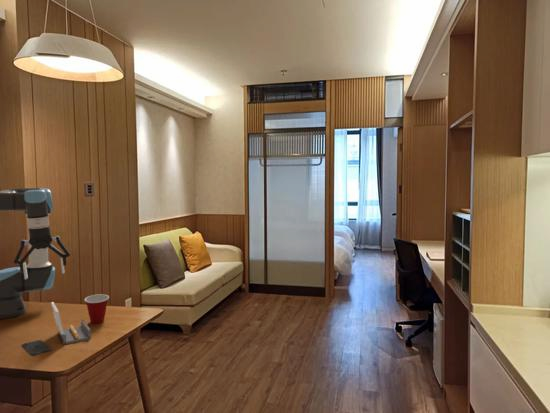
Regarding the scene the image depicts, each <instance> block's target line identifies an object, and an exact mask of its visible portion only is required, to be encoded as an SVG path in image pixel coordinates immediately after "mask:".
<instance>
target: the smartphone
mask: <svg viewBox="0 0 550 413" xmlns="http://www.w3.org/2000/svg"><path fill="white" fill-rule="evenodd" d="M21 348H23V350H25V352H26V353H28V354H29V355H30V356H32V357H34V356H37V355H41V354H44V353H48V352H52V350H53V348H52V347H50V346H49V345H48V344H47V343H46V342H44V341H43V340H41V339H37V340H33V341H29V342H25V343H23V344H21Z"/></svg>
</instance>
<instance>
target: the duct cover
mask: <svg viewBox="0 0 550 413" xmlns="http://www.w3.org/2000/svg"><path fill="white" fill-rule="evenodd" d="M50 305H51V309H52V313H53V317H54V321H55V325H56V326H57V329H58V332H59V331H60V333H61V335H62V334H64V332H63V330H64V328H63V325H62V319H61V315H60V311H59V309H58V307H57V306H56V304H55V302H54V301H52V302H50Z"/></svg>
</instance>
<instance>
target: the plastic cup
mask: <svg viewBox="0 0 550 413" xmlns="http://www.w3.org/2000/svg"><path fill="white" fill-rule="evenodd" d="M109 299H110V295H108V294H103V293H100V294H92V295H88V296H86V297H85V298H84V302H85V305H86V307H87V312H88V317H89V320H90V323H91V324H94V325H95V324H100V323H103V322H104V321H105V316H106V311H107V305H108V302H109V301H108V300H109Z"/></svg>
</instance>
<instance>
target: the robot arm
mask: <svg viewBox="0 0 550 413" xmlns="http://www.w3.org/2000/svg"><path fill="white" fill-rule="evenodd" d="M52 197H53V196H52V192H51V190H50V189H49V188H41V187H38V188H37V187H35V188H34V187H33V188H29V187H28V188H27V187H26V188H25V187H23V188H20V187H19V188H18V187H16V188H7V189H4V190H0V212H1V211H6V212H7V211H14V212H17V211H18V212H21V211H24V215H25V216H26V217H27V218H26V219H27V226H28V227H27V228H28V239H22V240H21V241H20V248H19V249H18V250H17V251H18V252H17V253H16V256H15V259H14V261H13V263H14V264H18V265H19V266H16V267H15V266H13V267H8V268H3V269H0V320H1V319H3V320H4V319H10V318H14V317H15V318H16V317H18V316H21V315H24V314H26V313H27V306H26V305H25V304H26V303H25V301H24V299H23V297H22V296H23V295H22V294H23V293H27V292H37V291H44V290H50V289H52V288H53V285H54V282H55V274H56V273H55V272H56V267H55V266H53V263H52V262H50V261H49V250H51V251H53V252H54V253H56V254H57V256H59V257H60V267H61V273H62V274H61V275H63V274H65V272H66V271H65V266H67V258H68V257H69V258H70V256H71V253H70V251H69V250H68V249H67V247H66V246H65V245H64V243H63V242H62V240H61V237H60V236H59V235H55V236H54V237H53V236H52V235H51V228H50V217H49V216H50V215H51V212H52V211H54V202H53V198H52ZM52 241H54V242H55V243H57V245H58V246H59V248H60V249H61V250H62V251H61V250H59V249H58V248H57V247H56V246H54V244H53V243H52ZM27 245H28V250H27V251H26V253H25V254H24V256H23V257H22V258H21V255H22V253H23V251H24V249H25V247H26V246H27ZM20 258H21V259H20ZM27 259H29V260H28V264H27V262H25V261H26V260H27Z"/></svg>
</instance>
